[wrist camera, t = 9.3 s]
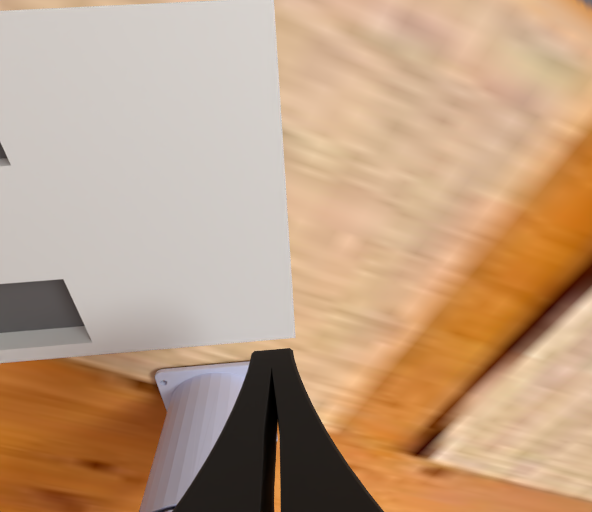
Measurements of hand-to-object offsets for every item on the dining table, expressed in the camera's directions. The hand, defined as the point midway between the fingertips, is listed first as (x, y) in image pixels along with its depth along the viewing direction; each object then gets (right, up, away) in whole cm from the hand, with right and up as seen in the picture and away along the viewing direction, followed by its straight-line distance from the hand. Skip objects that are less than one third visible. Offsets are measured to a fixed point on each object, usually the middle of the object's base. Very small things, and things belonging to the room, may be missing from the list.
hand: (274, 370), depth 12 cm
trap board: (-13, +6, +6) cm, 16 cm away
